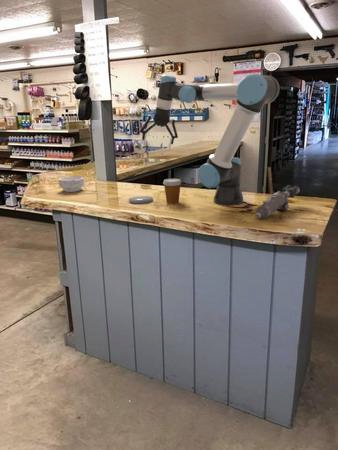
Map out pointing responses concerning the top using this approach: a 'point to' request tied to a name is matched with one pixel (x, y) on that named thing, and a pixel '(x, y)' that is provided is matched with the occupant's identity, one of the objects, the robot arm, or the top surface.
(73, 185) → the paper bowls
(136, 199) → the slate dish
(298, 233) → the top surface
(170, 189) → the disposable coffee cup
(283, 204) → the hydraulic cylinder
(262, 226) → the top surface
